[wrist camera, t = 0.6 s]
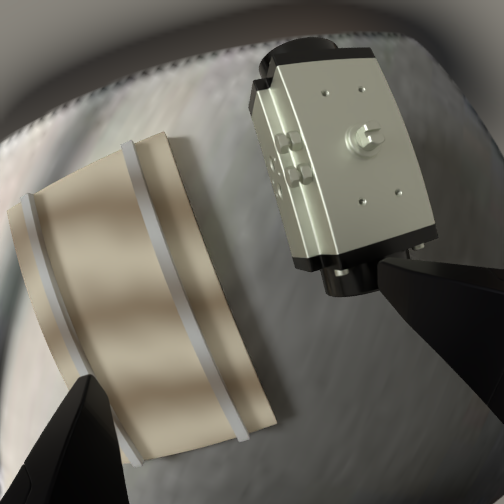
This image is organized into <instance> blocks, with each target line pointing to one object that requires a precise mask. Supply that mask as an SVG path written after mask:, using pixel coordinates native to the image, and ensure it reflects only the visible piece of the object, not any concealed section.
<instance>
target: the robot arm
mask: <svg viewBox="0 0 504 504" xmlns="http://www.w3.org/2000/svg"><path fill="white" fill-rule="evenodd" d="M377 277H378V288H379V290H380V291H381V293H382V294H383V295H384V296H385V297H386V299H387V300H388V301H389V302H390V303H391V305H392V306H393V307H394V308H395V309H396V310H397V312H398V313H399V314H400V315H401V316H402V318H403V319H404V320H405V321H406V322H407V323H408V324H409V325H410V326H411V327H412V328H413V329H414V330H415V331H416V332H417V333H418V334H419V335H420V336H421V337H422V338H423V339H424V340H425V341H426V342H427V343H428V344H429V345H430V346H431V347H432V348H433V349H434V350H435V351H436V352H437V353H438V354H439V355H440V356H441V357H442V358H443V359H444V360H445V361H446V362H447V364H448V365H449V366H450V367H451V368H452V369H453V370H454V371H455V372H456V373H457V374H458V375H459V376H460V377H461V378H462V379H463V380H464V381H465V382H466V383H467V384H468V385H469V387H470V388H471V389H472V390H473V391H474V392H475V393H476V394H477V395H478V396H479V397H480V398H481V399H482V401H483V402H484V403H485V404H486V405H487V406H488V407H489V408H490V410H491V411H492V412H493V413H494V414H495V415H496V416H497V417H498V418H499V420H500V421H501V422H502V423H503V424H504V269H495V268H485V267H476V266H467V265H458V264H449V263H439V262H430V261H420V260H411V259H401V258H391V257H389V258H386V259H384V260H382V261H380V262H379V263H378V265H377ZM24 464H25V465H24ZM24 464H23V465H22V467H21V468H20V470H19V472H18V474H17V475H16V477H15V479H14V480H13V482H12V484H11V485H10V487H9V489H8V490H7V492H6V493H5V495H4V496H3V498H2V499H1V501H0V504H129V500H128V495H127V489H126V484H125V478H124V473H123V467H122V460H121V453H120V447H119V442H118V437H117V433H116V429H115V425H114V421H113V416H112V411H111V407H110V402H109V398H108V396H107V394H106V392H105V391H104V389H103V388H102V387H101V385H100V384H99V382H98V381H97V379H96V378H95V377H94V376H93V375H92V374H87V375H84V376H81V377H79V378H78V379H77V380H76V382H75V383H74V385H73V386H72V388H71V389H70V391H69V392H68V394H67V395H66V397H65V398H64V400H63V401H62V403H61V404H60V406H59V407H58V409H57V410H56V412H55V413H54V415H53V416H52V418H51V420H50V421H49V423H48V424H47V426H46V427H45V429H44V431H43V432H42V434H41V435H40V437H39V439H38V440H37V442H36V443H35V445H34V447H33V448H32V450H31V452H30V453H29V455H28V457H27V458H26V460H25V462H24Z"/></svg>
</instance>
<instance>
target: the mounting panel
mask: <svg viewBox="0 0 504 504" xmlns="http://www.w3.org/2000/svg"><path fill="white" fill-rule="evenodd" d="M121 148H122V149H121V150H119V151H117V152H114V153H112V154H110V155H108V156H106V157H104V158H102V159H99V160H97V161H95V162H93V163H91V164H89V165H87V166H85V167H83V168H81V169H79V170H77V171H75V172H73V173H71V174H70V175H68V176H66V177H64V178H62V179H60V180H58V181H56V182H55V183H53V184H51V185H49V186H47V187H46V188H44V189H42V190H40V191H39V192H37V193H35V194H30V193H27V194H25V195H24V196H22V197H20V199H21V202H20V203H19V204H17V205H15V206H14V207H12V208H11V209H9V210H7V214H8V219H9V224H10V229H11V233H12V238H13V242H14V246H15V250H16V254H17V257H18V261H19V265H20V268H21V272H22V275H23V278H24V282H25V285H26V288H27V291H28V294H29V297H30V300H31V303H32V306H33V309H34V311H35V314H36V317H37V320H38V322H39V325H40V327H41V330H42V332H43V335H44V337H45V340H46V342H47V345H48V347H49V349H50V352H51V354H52V356H53V358H54V360H55V363H56V365H57V367H58V369H59V371H60V373H61V375H62V377H63V379H64V381H65V383H66V385H67V387H68V389H69V391H70V389H71V388H72V386H73V385H74V383H75V382H76V380H77V379H78V378H79V377H81V376H84V375H87V374H92V375H93V376H94V377H95V378H96V379H97V381H98V382H99V384H100V385H101V387H102V388H103V389H104V391H105V392H106V394H107V396H108V398H109V402H110V407H111V411H112V416H113V421H114V425H115V429H116V433H117V437H118V442H119V447H120V453H121V460H122V464H126V463H131V464H132V465H133V467H139V466H143V463H144V460H149V459H154V458H159V457H164V456H168V455H173V454H177V453H181V452H186V451H190V450H194V449H197V448H201V447H205V446H209V445H212V444H216V443H219V442H223V441H226V440H229V439H233V438H236V437H237V439H238V441H239V442H242V441H245V440H248V439H250V437H249V433H251V432H254V431H257V430H260V429H263V428H266V427H269V426H271V425H274V424H277V421H276V418H275V415H274V412H273V410H272V408H271V406H270V403H269V401H268V399H267V396H266V394H265V392H264V390H263V387H262V385H261V383H260V380H259V378H258V376H257V373H256V371H255V368H254V366H253V364H252V361H251V359H250V357H249V354H248V352H247V349H246V347H245V345H244V342H243V340H242V337H241V335H240V332H239V330H238V327H237V325H236V322H235V320H234V318H233V315H232V313H231V310H230V308H229V305H228V303H227V300H226V297H225V295H224V292H223V290H222V287H221V285H220V282H219V280H218V277H217V274H216V272H215V269H214V267H213V264H212V261H211V259H210V256H209V253H208V251H207V248H206V246H205V243H204V240H203V238H202V235H201V232H200V229H199V227H198V224H197V221H196V219H195V216H194V213H193V210H192V208H191V205H190V202H189V199H188V196H187V194H186V191H185V188H184V185H183V182H182V180H181V177H180V174H179V171H178V168H177V165H176V162H175V159H174V156H173V154H172V151H171V148H170V145H169V142H168V139H167V136H166V134H165V132H161V133H159V134H156V135H154V136H151V137H149V138H147V139H144V140H142V141H139V142H137V143H135V144H134V142H133V141H132V140H130V141H128V142H125V143H123V144H121Z"/></svg>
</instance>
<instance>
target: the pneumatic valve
mask: <svg viewBox="0 0 504 504" xmlns="http://www.w3.org/2000/svg"><path fill="white" fill-rule="evenodd" d="M259 73H260V76H261V78H262V79H258V80H254V81H253V84H252V90H251V96H250V101H249V107H248V108H249V111H250V114H251V118H252V121H253V124H254V127H255V130H256V134H257V137H258V140H259V143H260V147H261V150H262V153H263V157H264V160H265V163H266V167H267V170H268V173H269V177H270V180H271V183H272V187H273V190H274V194H275V197H276V201H277V204H278V208H279V211H280V215H281V218H282V222H283V225H284V229H285V232H286V236H287V240H288V243H289V247H290V251H291V254H292V258H293V262H294V265H295V268H296V269H300V270H304V271H308V272H314V271H317V270H320V272H321V276H322V280H323V284H324V288H325V292H326V294H327V295H329V296H332V297H350V296H357V295H363V294H367V293H372V292H376V291H379V288H378V277H377V265H378V263H379V262H380V261H382V260H384V259H386V258H389V257H391V258H401V259H410V255H409V250H408V248H411V247H412V249H413V250H418V249H422V248H424V243H426V242H428V241H431V240H434V239H437V238H438V234H437V230H436V225H435V221H434V217H433V213H432V209H431V205H430V201H429V198H428V194H427V191H426V187H425V184H424V180H423V177H422V174H421V170H420V167H419V164H418V161H417V158H416V155H415V152H414V149H413V146H412V143H411V140H410V138H409V135H408V132H407V129H406V127H405V124H404V121H403V119H402V116H401V114H400V111H399V109H398V106H397V104H396V102H395V99H394V97H393V95H392V92H391V90H390V88H389V85H388V83H387V81H386V79H385V77H384V74H383V72H382V70H381V68H380V66H379V64H378V62H377V60H376V58H375V56H374V54H373V52H372V50H371V48H338V47H337V45H336V44H335V43H334V42H332V41H330V40H328V39H325V38H319V37H307V38H300V39H296V40H292V41H289V42H286V43H284V44H282V45H280V46H278V47H276V48H274V49H273V50H271V51H270V52H269V53H268V54H267V55H266V56H265V57H264V58H263V59H262V61H261V63H260V65H259Z"/></svg>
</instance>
